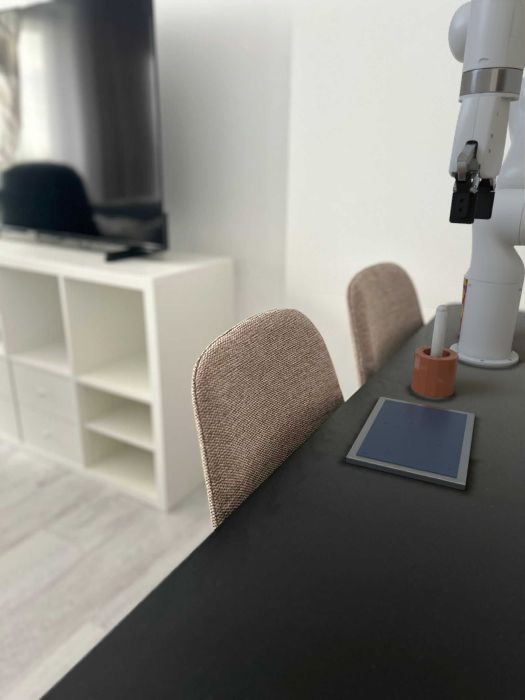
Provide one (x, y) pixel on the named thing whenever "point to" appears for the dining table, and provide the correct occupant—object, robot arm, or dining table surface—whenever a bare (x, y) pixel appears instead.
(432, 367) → the holder
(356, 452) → the tablet
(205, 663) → the dining table surface
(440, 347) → the stylus
